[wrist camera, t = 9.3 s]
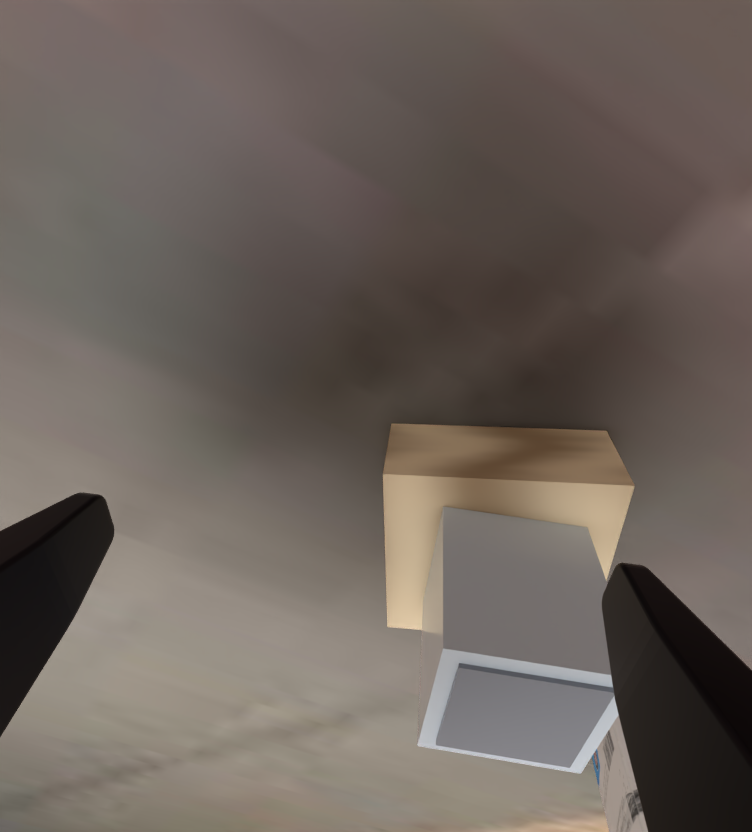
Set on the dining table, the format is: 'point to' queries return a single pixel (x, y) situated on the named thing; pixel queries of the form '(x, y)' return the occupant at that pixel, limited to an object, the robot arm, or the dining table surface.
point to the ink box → (618, 783)
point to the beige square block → (492, 492)
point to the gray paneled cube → (514, 642)
